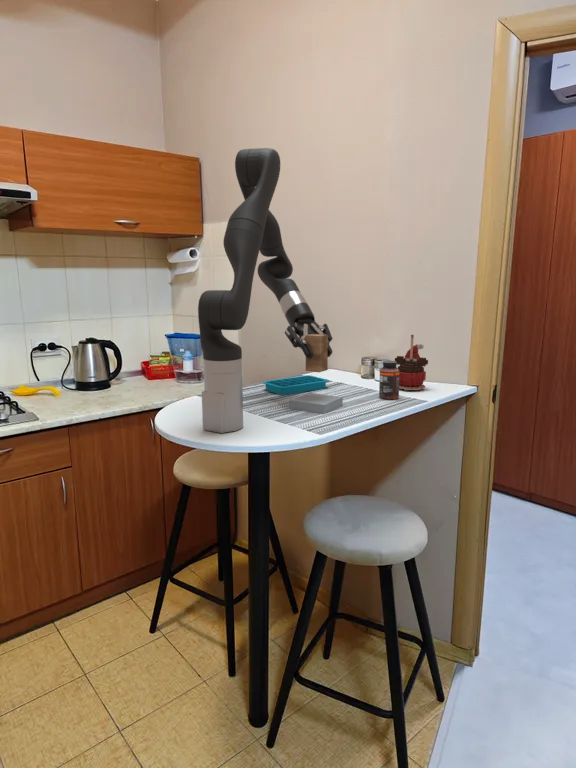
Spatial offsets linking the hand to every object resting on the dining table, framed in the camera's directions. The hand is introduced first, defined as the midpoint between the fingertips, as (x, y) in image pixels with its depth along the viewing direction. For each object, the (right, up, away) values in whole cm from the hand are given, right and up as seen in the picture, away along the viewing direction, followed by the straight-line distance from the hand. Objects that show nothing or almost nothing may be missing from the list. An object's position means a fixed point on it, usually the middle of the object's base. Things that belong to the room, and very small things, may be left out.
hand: (320, 355), depth 143 cm
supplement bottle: (+22, -12, +16) cm, 30 cm away
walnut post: (-1, -4, +2) cm, 5 cm away
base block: (-1, -15, +4) cm, 15 cm away
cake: (+31, -10, +28) cm, 43 cm away
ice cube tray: (-6, -10, +29) cm, 31 cm away
